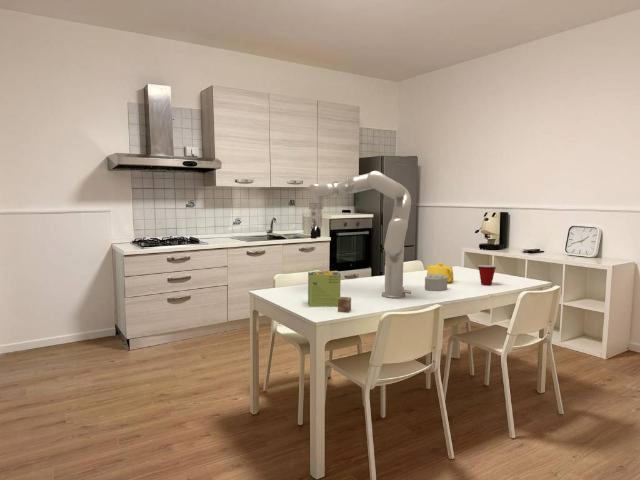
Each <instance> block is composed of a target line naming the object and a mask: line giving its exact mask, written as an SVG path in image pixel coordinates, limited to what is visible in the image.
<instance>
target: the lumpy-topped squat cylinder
mask: <svg viewBox="0 0 640 480" xmlns="http://www.w3.org/2000/svg"><path fill="white" fill-rule="evenodd" d="M424 290H425V291H426V292H443V291H444V292H445V291H447V290H448V283H447V277H445V276H444V275H441V274H435V275H432V274H428V276H427V275H426V276H425V277H424Z"/></svg>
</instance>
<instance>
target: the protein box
mask: <svg viewBox="0 0 640 480" xmlns="http://www.w3.org/2000/svg"><path fill="white" fill-rule="evenodd" d="M341 279H342V276H341V273H340V271H338V270H330V271H329V270H328V271H326V270H324V271H323V270H320V271H319V270H317V271H314V270H313V271H312V270H311V271H308V276H307V284H308V285H307V292H308V293H307V303H308V307H338V299H339V298H340V297H341V282H342V281H341Z"/></svg>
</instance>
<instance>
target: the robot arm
mask: <svg viewBox="0 0 640 480" xmlns="http://www.w3.org/2000/svg"><path fill="white" fill-rule="evenodd" d="M374 189H375V191H377V192H379V193H381V194H383V195H385V196H387V197H388V198H390V199H392V200H393V201H394V204H393V205H394V206H393V211H392V216H391V218H390V219H391V220H390V221H389V223H388V225H387V231H386V235H385V239H384V244H383V245H384V246H383V249H384V252H385V259H384V260H385V264H384V265H385V266H384V291H383V292H381V296H382V297H384V298H388V299H389V298H390V299H401V298H405V297H406V294H407V295H411V294H412V290H411V289H406V288H405V287H404V286H403V285H404V258H405V240H406V234H407V230H408V227H409V226H408V225H409V218H410V212H411V207H412V197H411V194H410V192H409V190H408V188H406V187H405V186H404V185H402V183H399V182H398V181H395V180H394V179H392V178H390V177H388V176H387V175H385V174H384V173H382V172H381V171H378V170H372V171H370V172H368V173H365V174H360V175H355V176H352V177H349V178H348V179H346V180H344V181H338V182H334V183H329V182H328V183H310V184H309V186H308V209H309V210H310V213H309V214H310V215H309V216H310V218H309V219H310V221H309V223H310V239H312V240H313V239H314V240H316V239H318V238H321V228H322V227H323V208H324V206H323V205H324V201H323V200H324V198H323V197H325V198H337V197H340V196H346V195H350V194H356V193H360V192H363V191H364V192H365V191H369V190H374Z"/></svg>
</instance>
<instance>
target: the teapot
mask: <svg viewBox="0 0 640 480" xmlns="http://www.w3.org/2000/svg"><path fill="white" fill-rule="evenodd" d="M425 268H426V270H427V271H426V276H428V274H432V275H435V274H441V275H444V276H445V277H447V284H451V283H452V284H453V282H454V270H453V267H452V266H449V265H444V263H443V262H437V264H433V265H426V266H425Z"/></svg>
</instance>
